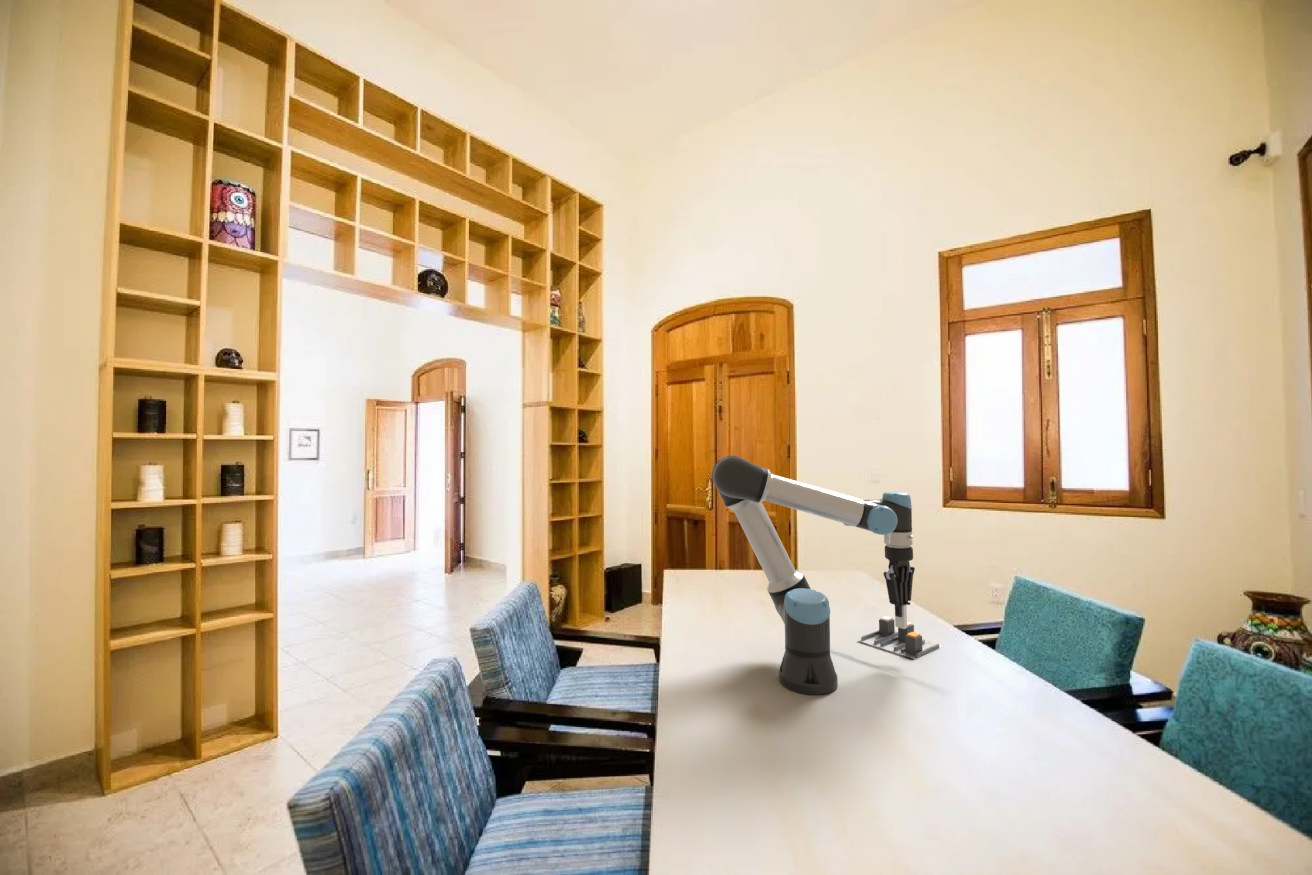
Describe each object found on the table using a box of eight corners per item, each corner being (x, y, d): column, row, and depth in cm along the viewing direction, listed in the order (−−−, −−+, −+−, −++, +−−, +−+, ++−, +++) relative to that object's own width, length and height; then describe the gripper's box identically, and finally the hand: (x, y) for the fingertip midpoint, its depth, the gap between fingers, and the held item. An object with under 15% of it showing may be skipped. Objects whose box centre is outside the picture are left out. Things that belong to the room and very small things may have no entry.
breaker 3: (915, 656, 154) (915, 636, 154) (905, 652, 157) (905, 633, 157) (922, 652, 156) (922, 633, 157) (912, 649, 159) (912, 631, 159)
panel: (908, 668, 148) (908, 660, 148) (846, 647, 164) (846, 640, 164) (953, 647, 163) (952, 640, 163) (891, 630, 180) (891, 623, 180)
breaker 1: (887, 637, 169) (887, 620, 169) (879, 635, 172) (878, 617, 172) (894, 635, 171) (894, 617, 172) (886, 632, 174) (885, 615, 174)
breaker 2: (907, 643, 164) (907, 625, 164) (898, 640, 166) (898, 623, 166) (914, 640, 166) (913, 623, 166) (905, 638, 169) (904, 620, 169)
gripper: (898, 550, 146) (901, 635, 146) (922, 544, 154) (925, 625, 153) (873, 546, 152) (876, 628, 152) (898, 541, 160) (900, 619, 159)
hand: (901, 627), depth 152 cm, fingers closed
